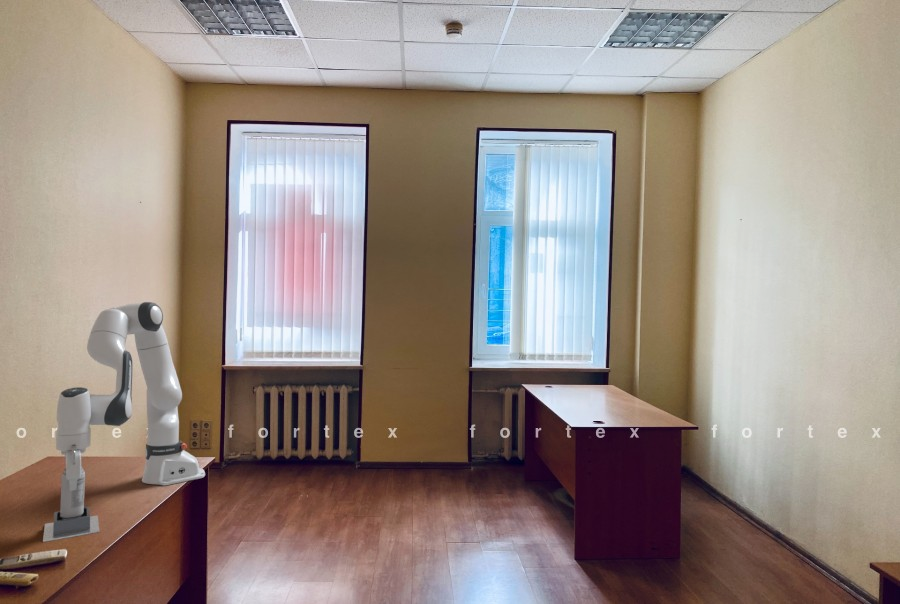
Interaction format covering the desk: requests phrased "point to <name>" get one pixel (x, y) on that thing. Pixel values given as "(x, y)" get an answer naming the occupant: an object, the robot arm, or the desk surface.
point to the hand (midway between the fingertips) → (72, 486)
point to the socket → (71, 526)
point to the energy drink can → (72, 497)
